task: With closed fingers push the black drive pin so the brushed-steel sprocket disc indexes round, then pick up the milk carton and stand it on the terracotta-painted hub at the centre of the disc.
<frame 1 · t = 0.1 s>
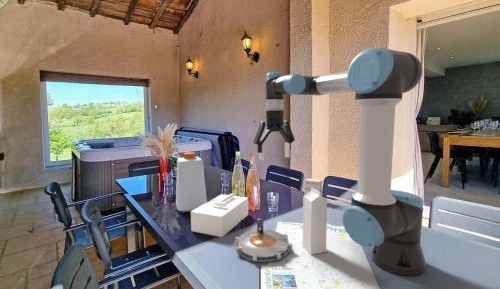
hand: (274, 158, 120), 28 cm above the table, fingers open, 13 cm apart
ink box: (313, 201, 148), on the table
tissue box: (221, 223, 121), on the table
milk: (314, 250, 97), on the table
plastic bottle: (191, 206, 142), on the table
sprocket: (262, 236, 97), point 5 cm above the table, hinge at -25.0°
sprocket base: (262, 248, 98), on the table
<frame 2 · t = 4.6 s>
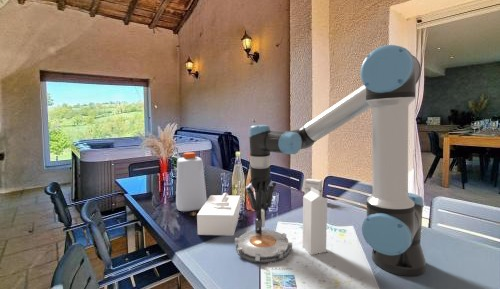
hand: (261, 225, 106), 5 cm above the table, fingers closed
sprocket: (262, 236, 97), point 5 cm above the table, hinge at -19.6°, touching gripper
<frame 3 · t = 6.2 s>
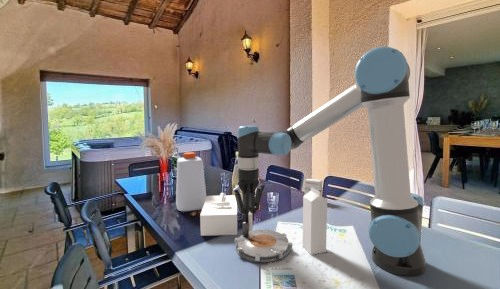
hand: (249, 229, 103), 5 cm above the table, fingers closed
sprocket: (262, 236, 97), point 5 cm above the table, hinge at 25.2°, touching gripper
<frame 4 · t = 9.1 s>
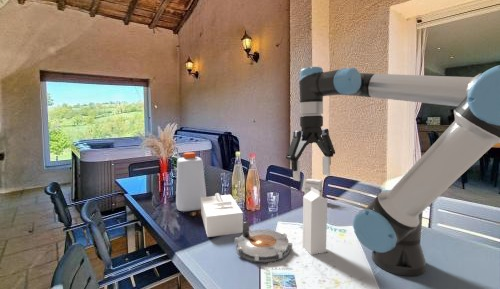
hand: (311, 177, 94), 26 cm above the table, fingers open, 13 cm apart
sprocket: (262, 236, 97), point 5 cm above the table, hinge at 23.7°
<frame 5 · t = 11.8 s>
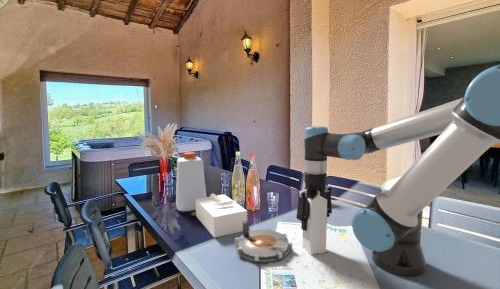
hand: (314, 235, 96), 5 cm above the table, fingers closed on milk, 7 cm apart
milk: (314, 250, 97), on the table, touching gripper
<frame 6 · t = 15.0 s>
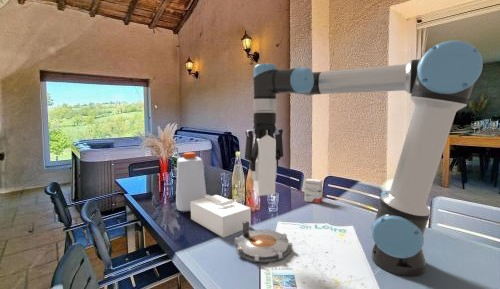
hand: (264, 178, 95), 25 cm above the table, fingers closed on milk, 7 cm apart
milk: (264, 193, 96), point 20 cm above the table, touching gripper
when the fingers open (9 cm above the table, at t = 18.4 s): milk drops 1 cm, resting on sprocket.
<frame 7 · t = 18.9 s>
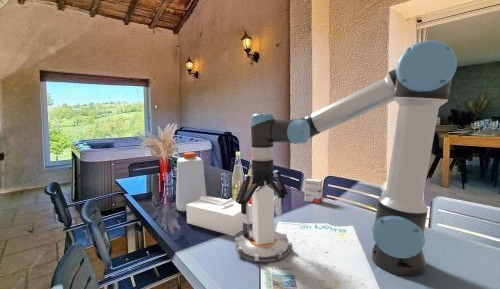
hand: (262, 218, 96), 11 cm above the table, fingers open, 13 cm apart
milk: (263, 240, 98), point 3 cm above the table, touching sprocket
sprocket: (262, 236, 97), point 5 cm above the table, hinge at 23.7°, touching milk
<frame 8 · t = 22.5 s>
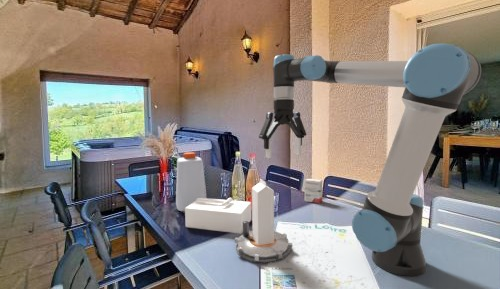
hand: (283, 156, 103), 32 cm above the table, fingers open, 13 cm apart
at the end: sprocket at +24° (first picture: -25°); milk inside the target area on the sprocket (0.1 cm from its centre), point 2.8 cm above the sprocket's base; milk tilted 0° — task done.
